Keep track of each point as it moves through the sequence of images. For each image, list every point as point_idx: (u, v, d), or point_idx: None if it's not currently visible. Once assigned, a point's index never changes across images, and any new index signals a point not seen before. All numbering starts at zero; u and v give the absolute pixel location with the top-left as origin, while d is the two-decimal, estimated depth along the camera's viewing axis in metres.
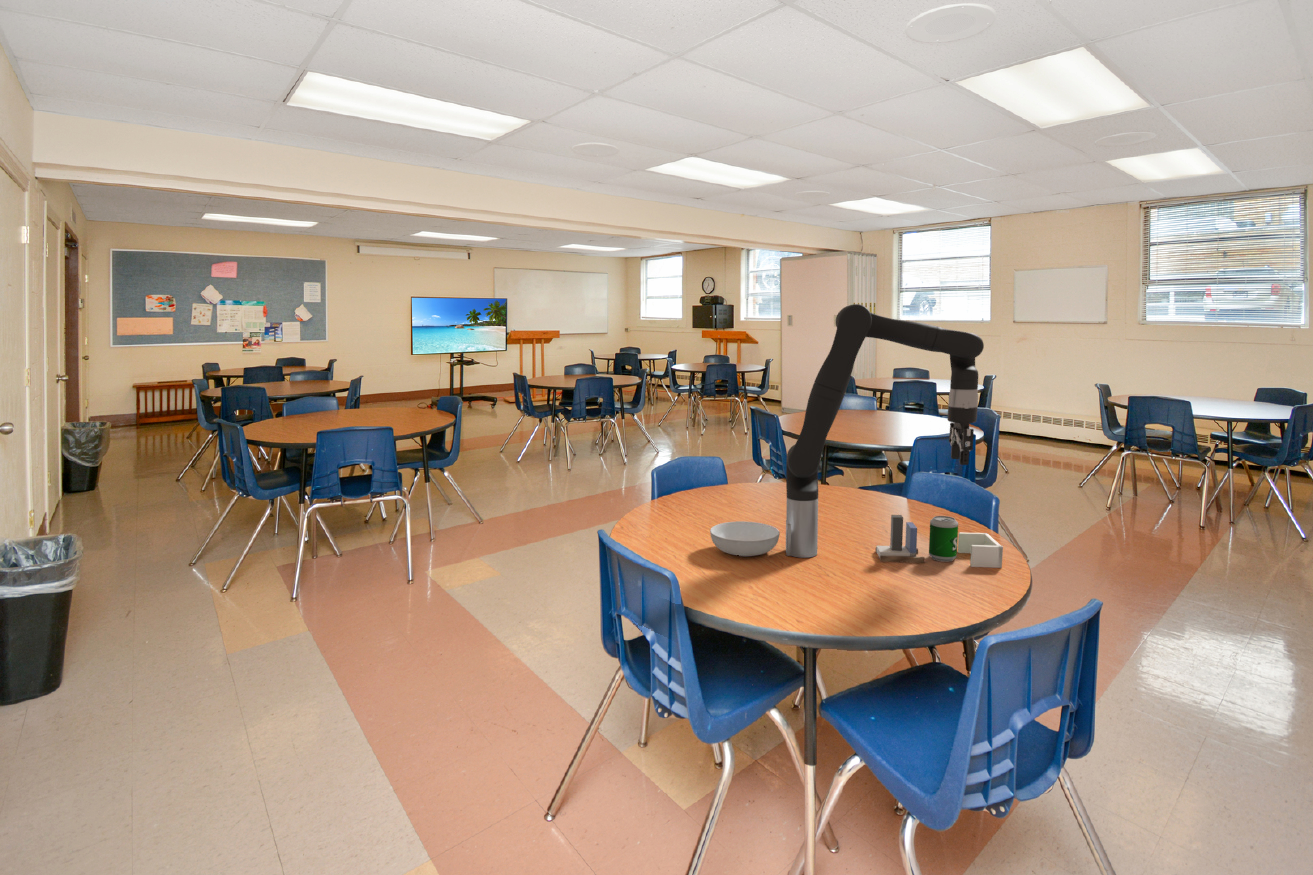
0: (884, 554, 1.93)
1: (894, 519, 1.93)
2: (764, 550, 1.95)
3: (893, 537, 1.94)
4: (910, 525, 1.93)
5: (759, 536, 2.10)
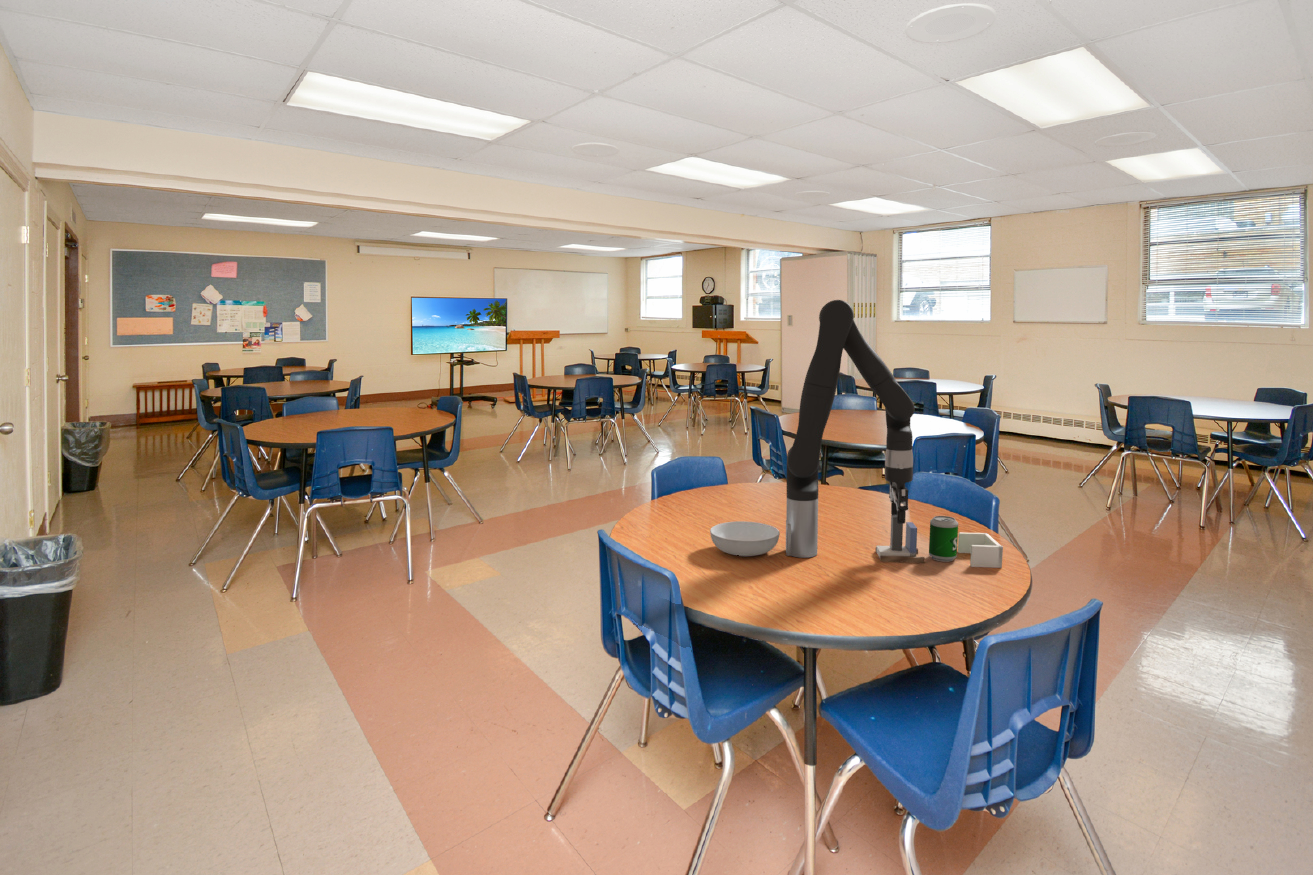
0: (884, 554, 1.93)
1: (894, 519, 1.93)
2: (764, 550, 1.95)
3: (893, 537, 1.94)
4: (910, 525, 1.93)
5: (759, 536, 2.10)
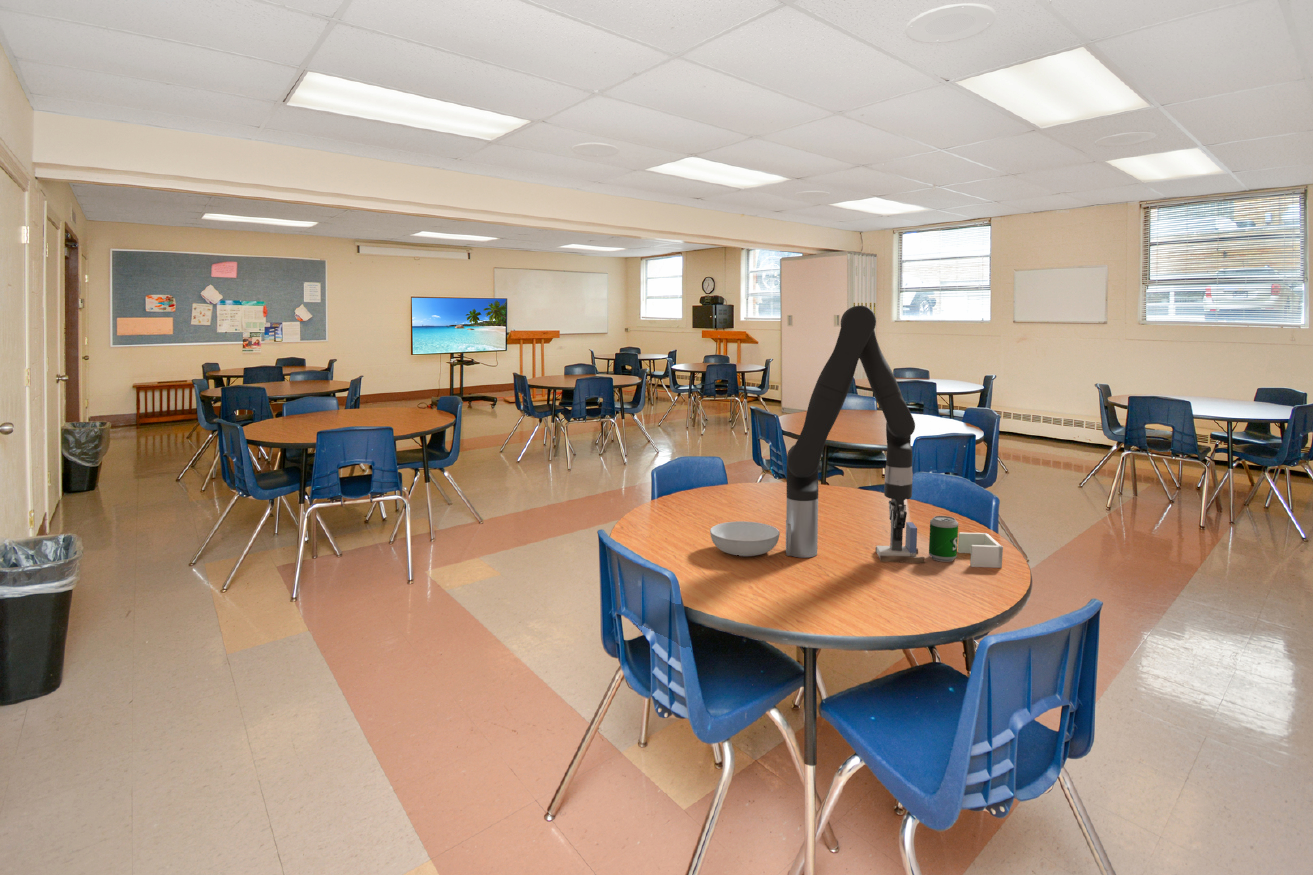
0: (884, 554, 1.93)
1: None
2: (764, 550, 1.95)
3: (893, 537, 1.94)
4: (910, 525, 1.93)
5: (759, 536, 2.10)
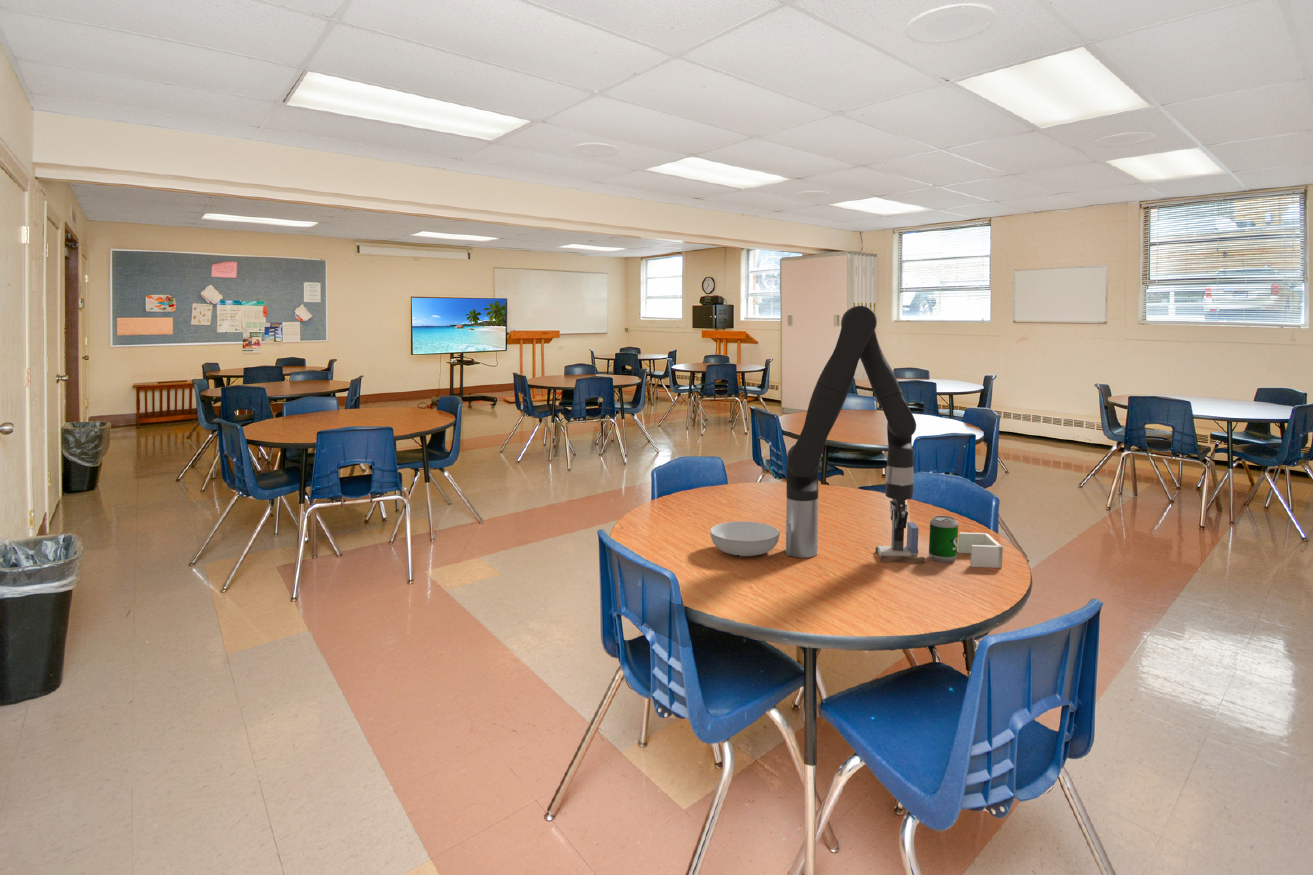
0: (885, 554, 1.93)
1: None
2: (764, 550, 1.95)
3: (894, 537, 1.94)
4: (911, 525, 1.93)
5: (759, 536, 2.10)
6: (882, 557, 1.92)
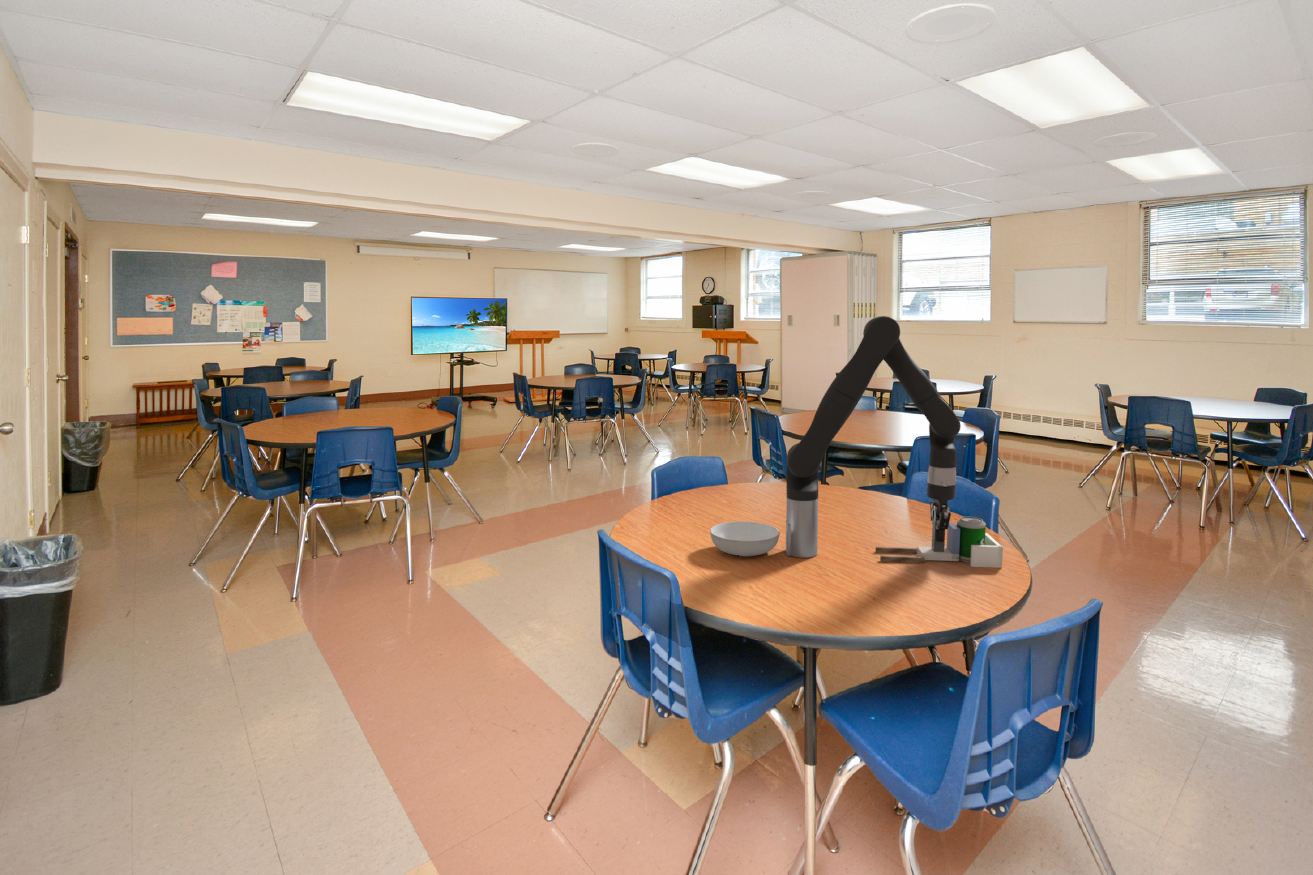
0: (926, 555, 1.91)
1: None
2: (764, 550, 1.95)
3: (935, 538, 1.92)
4: (952, 526, 1.92)
5: (759, 536, 2.10)
6: (882, 557, 1.92)
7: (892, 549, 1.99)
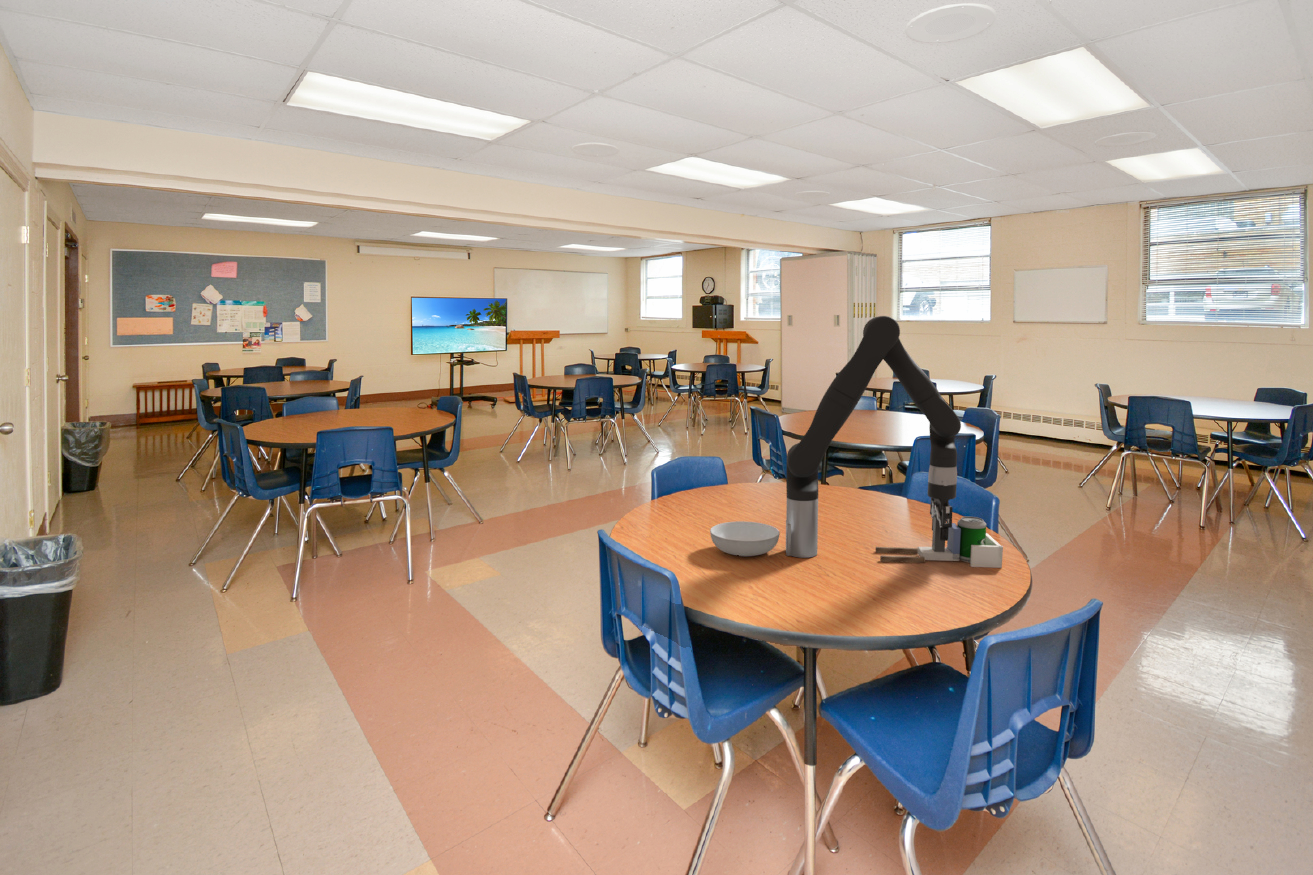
0: (927, 555, 1.91)
1: (937, 520, 1.91)
2: (764, 550, 1.95)
3: (936, 538, 1.92)
4: (953, 526, 1.92)
5: (759, 536, 2.10)
6: (882, 557, 1.92)
7: (892, 549, 1.99)
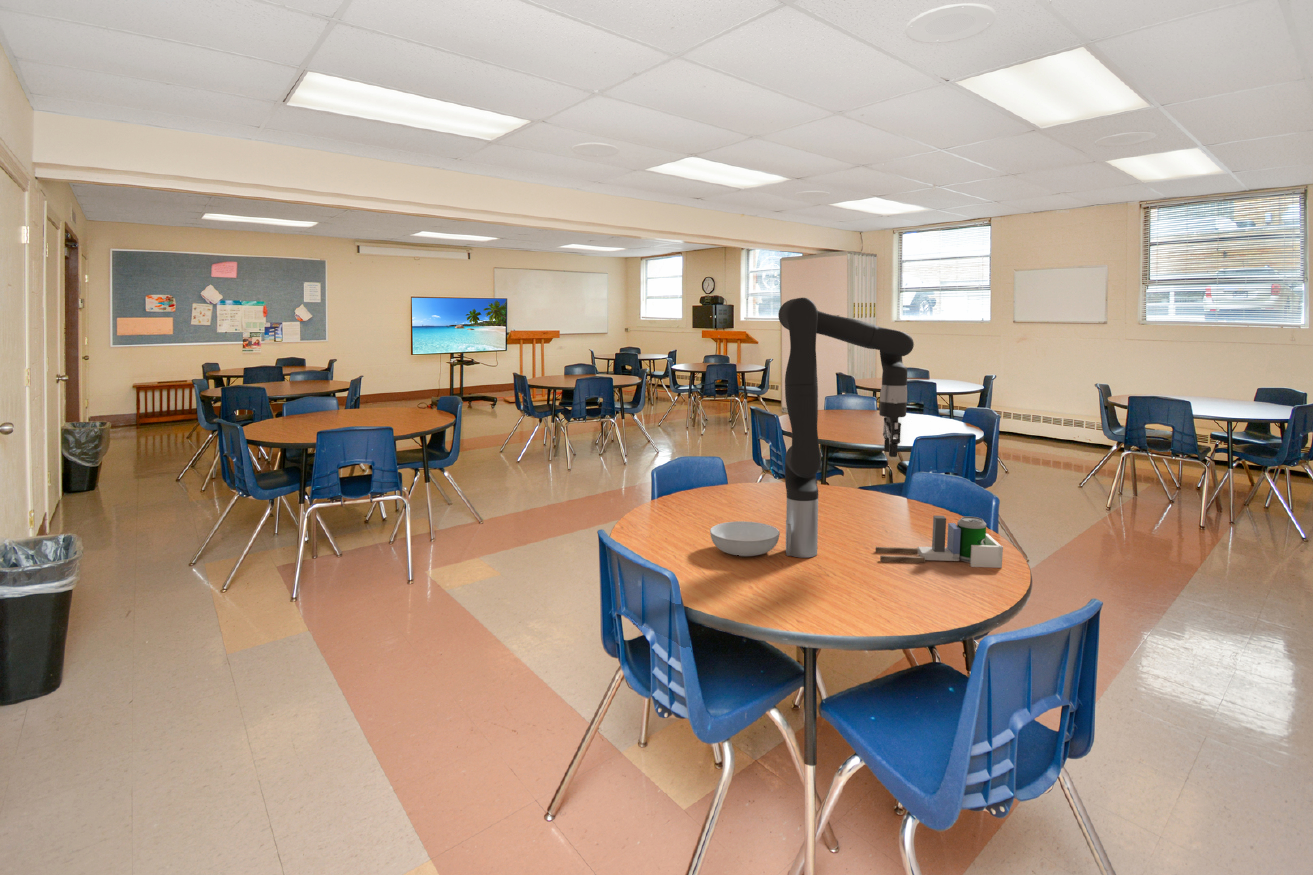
0: (927, 555, 1.91)
1: (937, 520, 1.91)
2: (764, 550, 1.95)
3: (936, 538, 1.92)
4: (953, 526, 1.92)
5: (759, 536, 2.10)
6: (882, 557, 1.92)
7: (892, 549, 1.99)
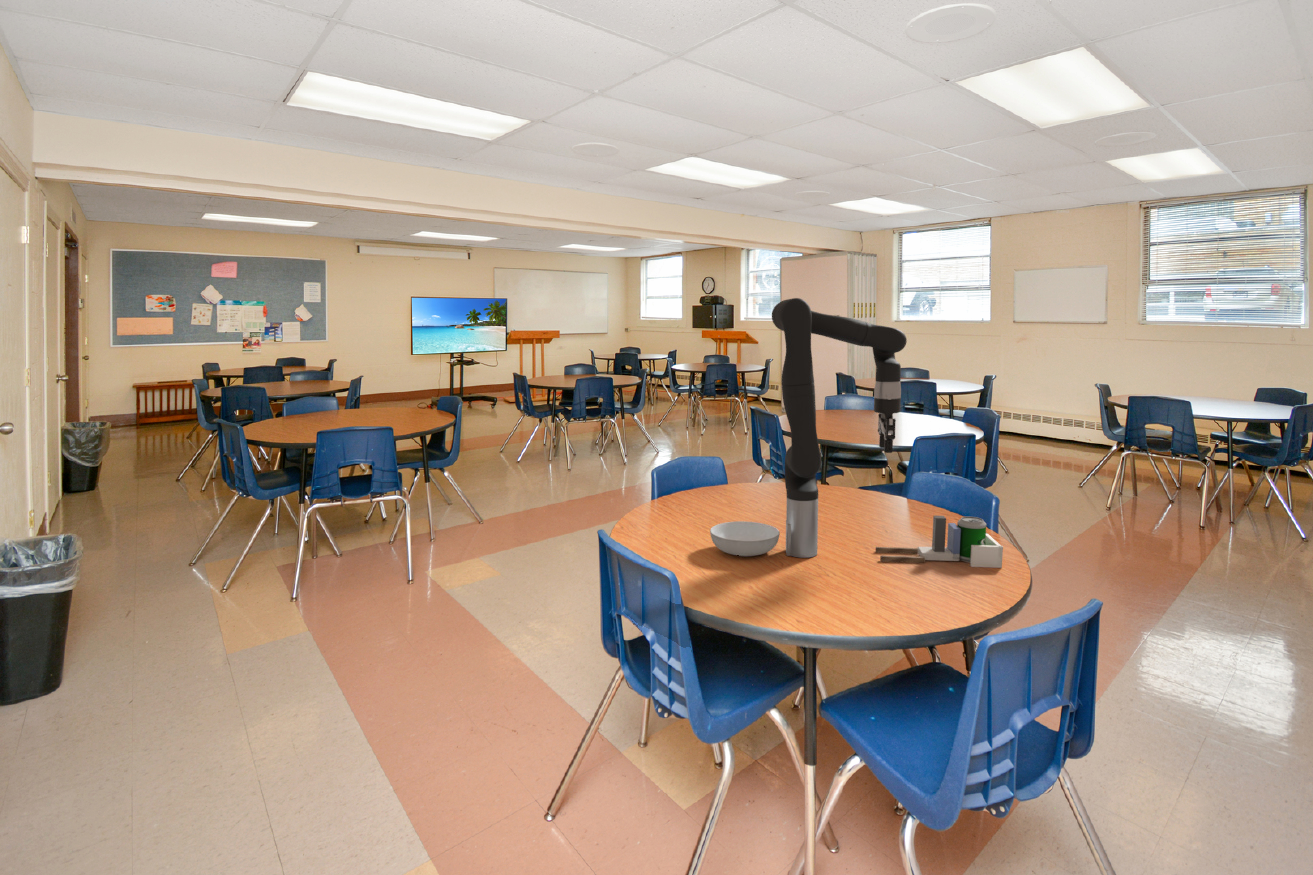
0: (927, 555, 1.91)
1: (937, 520, 1.91)
2: (764, 550, 1.95)
3: (936, 538, 1.92)
4: (953, 526, 1.92)
5: (759, 536, 2.10)
6: (882, 557, 1.92)
7: (892, 549, 1.99)
